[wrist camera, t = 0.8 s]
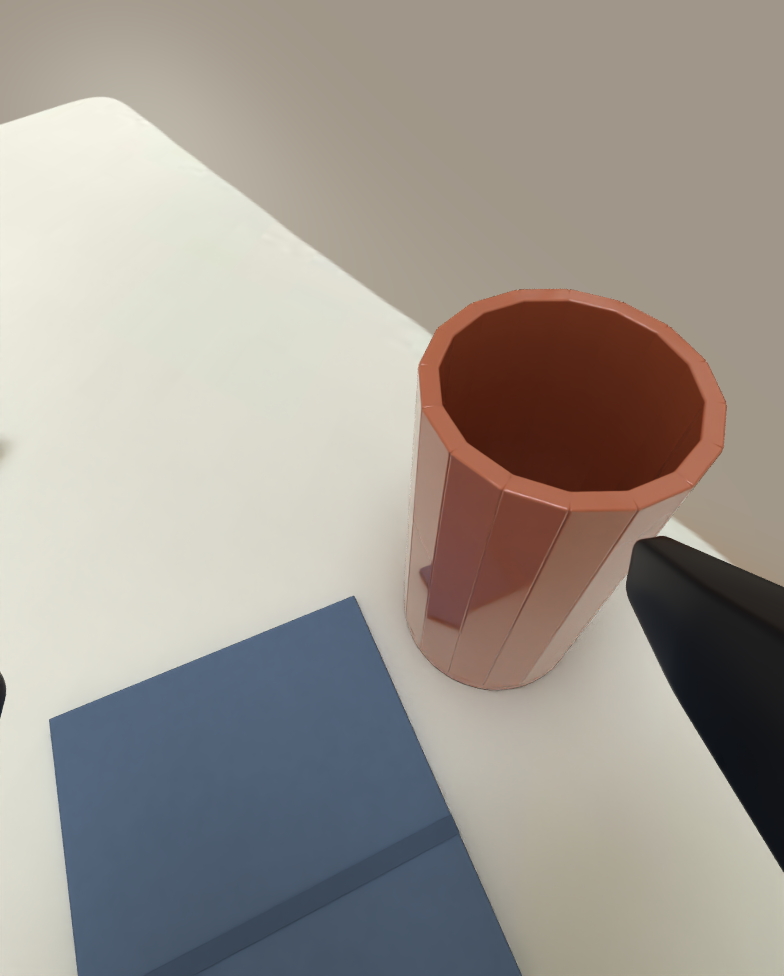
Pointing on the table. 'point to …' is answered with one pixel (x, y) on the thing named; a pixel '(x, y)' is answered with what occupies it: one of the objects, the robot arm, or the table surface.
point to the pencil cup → (543, 472)
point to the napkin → (266, 821)
